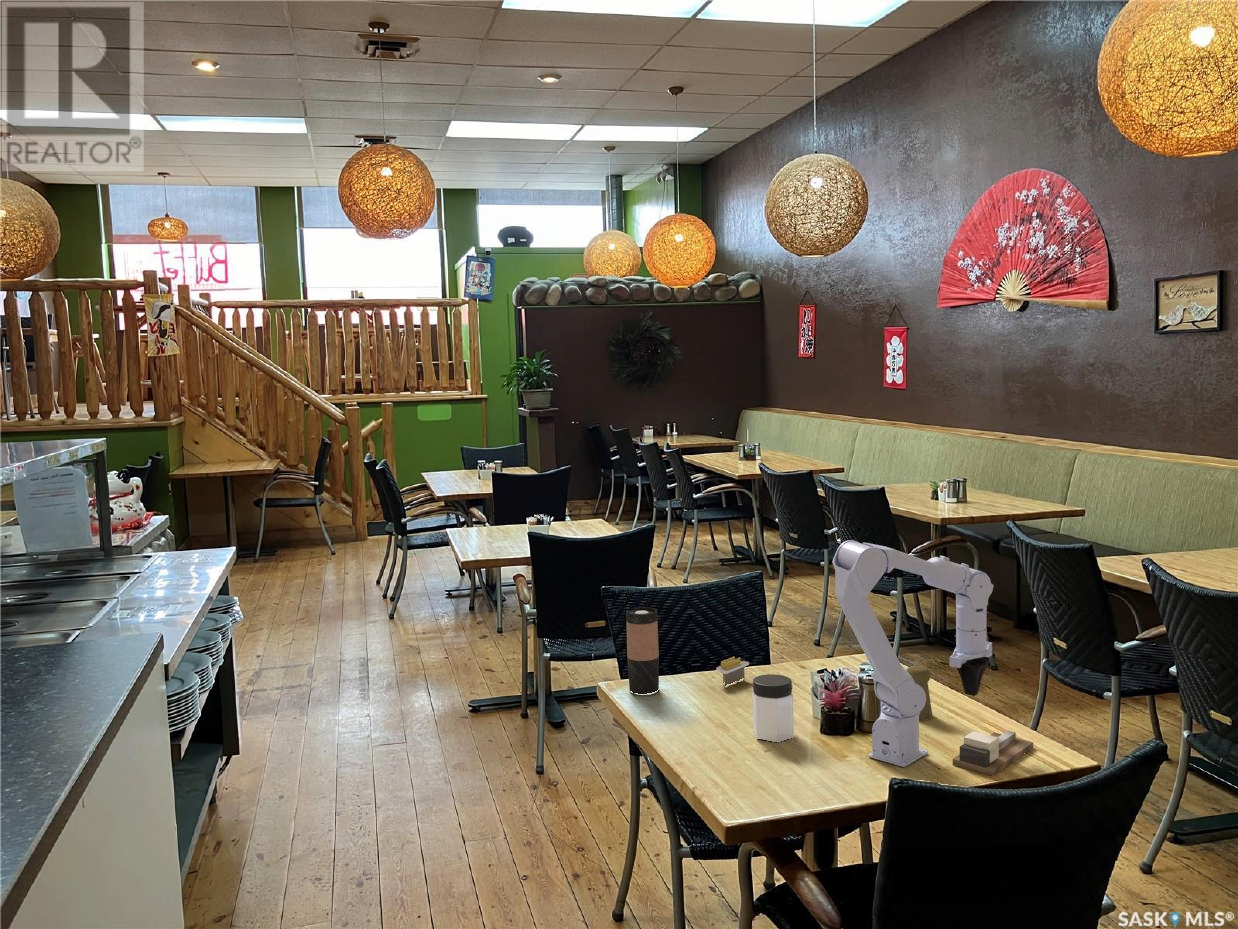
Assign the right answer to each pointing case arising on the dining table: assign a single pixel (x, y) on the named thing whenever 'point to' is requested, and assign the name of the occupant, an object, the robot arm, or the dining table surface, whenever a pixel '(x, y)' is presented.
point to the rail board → (1002, 758)
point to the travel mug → (643, 650)
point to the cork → (921, 678)
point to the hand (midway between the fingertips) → (971, 694)
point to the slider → (984, 743)
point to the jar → (773, 708)
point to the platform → (732, 670)
